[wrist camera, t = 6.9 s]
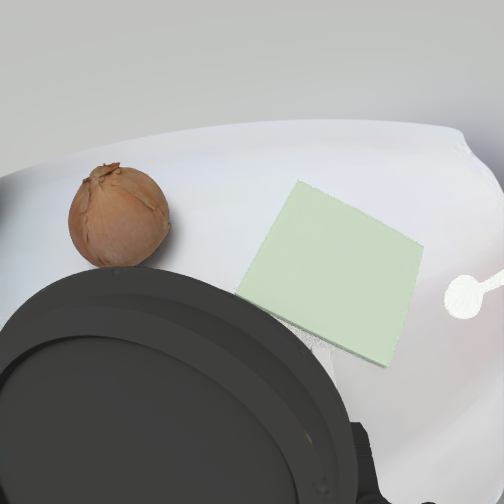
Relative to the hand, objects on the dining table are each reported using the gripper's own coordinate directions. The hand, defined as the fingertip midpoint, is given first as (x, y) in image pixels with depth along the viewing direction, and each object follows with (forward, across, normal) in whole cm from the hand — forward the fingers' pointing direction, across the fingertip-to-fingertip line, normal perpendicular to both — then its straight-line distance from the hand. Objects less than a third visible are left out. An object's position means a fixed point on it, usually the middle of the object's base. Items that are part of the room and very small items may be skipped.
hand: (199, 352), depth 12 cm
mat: (+17, +10, -3) cm, 20 cm away
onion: (+17, -11, -3) cm, 21 cm away
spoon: (+18, +32, -2) cm, 37 cm away
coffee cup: (+2, 0, -6) cm, 7 cm away
